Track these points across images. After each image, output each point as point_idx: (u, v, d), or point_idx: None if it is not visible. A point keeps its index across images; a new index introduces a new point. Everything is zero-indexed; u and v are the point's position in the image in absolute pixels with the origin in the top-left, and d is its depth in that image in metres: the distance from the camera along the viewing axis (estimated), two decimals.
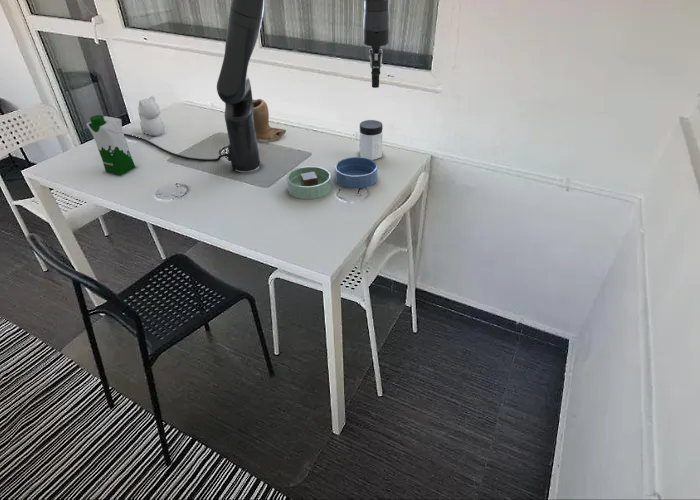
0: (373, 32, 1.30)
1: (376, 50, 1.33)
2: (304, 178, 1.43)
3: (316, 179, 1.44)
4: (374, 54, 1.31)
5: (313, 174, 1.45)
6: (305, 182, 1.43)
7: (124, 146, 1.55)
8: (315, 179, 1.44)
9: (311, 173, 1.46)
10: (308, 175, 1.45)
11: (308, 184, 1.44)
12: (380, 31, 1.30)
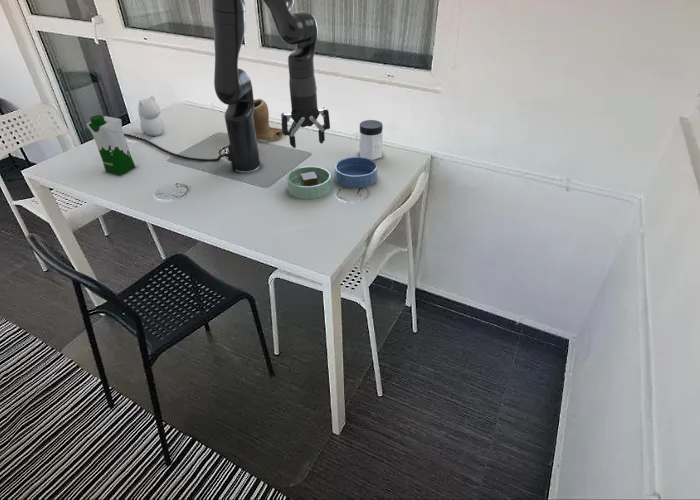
0: (290, 94, 1.29)
1: None
2: (304, 178, 1.43)
3: (316, 179, 1.44)
4: (282, 114, 1.31)
5: (313, 174, 1.45)
6: (305, 182, 1.43)
7: (124, 146, 1.55)
8: (315, 179, 1.44)
9: (311, 173, 1.46)
10: (308, 175, 1.45)
11: (308, 184, 1.44)
12: (292, 96, 1.27)
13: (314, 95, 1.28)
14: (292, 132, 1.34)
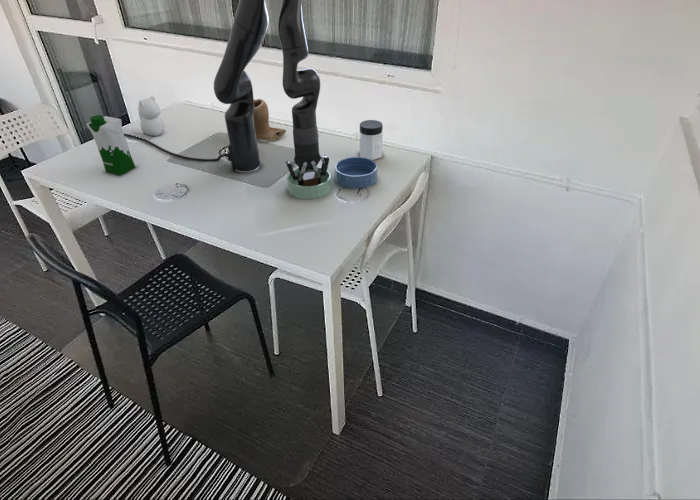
0: None
1: (295, 157, 1.40)
2: (304, 178, 1.43)
3: (316, 179, 1.44)
4: (286, 163, 1.40)
5: (313, 174, 1.45)
6: (305, 182, 1.43)
7: (124, 146, 1.55)
8: (315, 179, 1.44)
9: (311, 173, 1.46)
10: (308, 175, 1.45)
11: (308, 184, 1.44)
12: (295, 143, 1.36)
13: (316, 143, 1.36)
14: (300, 177, 1.43)
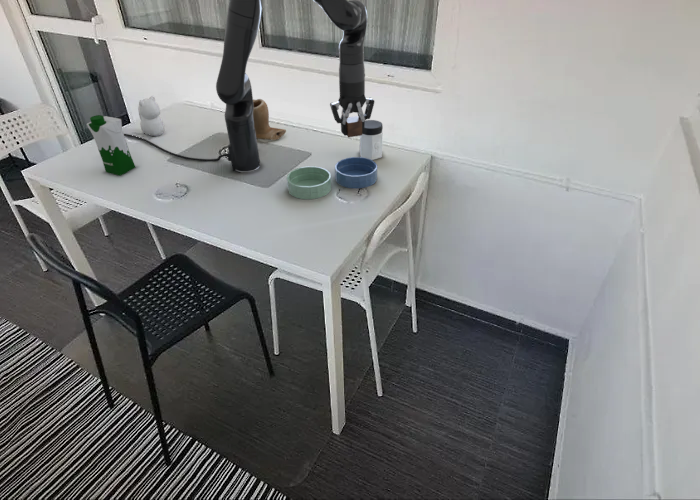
0: (339, 81, 1.32)
1: None
2: (348, 121, 1.38)
3: (360, 123, 1.39)
4: (330, 104, 1.35)
5: (357, 118, 1.40)
6: (349, 125, 1.38)
7: (124, 146, 1.55)
8: (359, 122, 1.39)
9: (354, 117, 1.41)
10: (351, 119, 1.40)
11: (352, 128, 1.39)
12: (341, 82, 1.31)
13: (362, 82, 1.31)
14: (345, 120, 1.38)
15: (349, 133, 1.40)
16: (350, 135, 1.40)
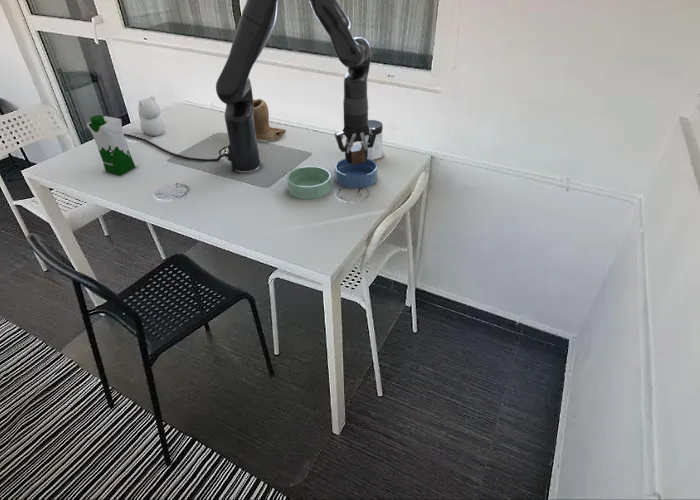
0: None
1: (344, 129, 1.41)
2: (352, 150, 1.45)
3: (364, 151, 1.45)
4: (335, 134, 1.42)
5: (360, 146, 1.47)
6: (353, 154, 1.44)
7: (124, 146, 1.55)
8: (363, 151, 1.45)
9: (358, 145, 1.47)
10: (355, 147, 1.46)
11: (356, 156, 1.45)
12: (346, 114, 1.37)
13: (366, 114, 1.37)
14: (348, 149, 1.44)
15: (353, 161, 1.46)
16: (353, 163, 1.46)
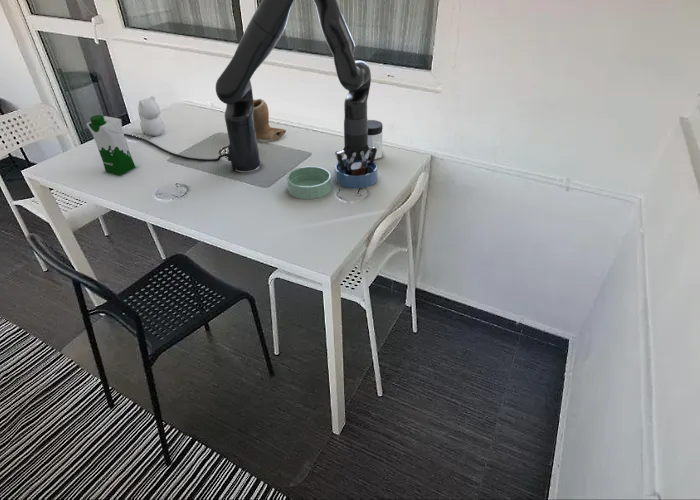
0: (344, 132, 1.43)
1: (345, 148, 1.45)
2: (352, 168, 1.48)
3: (364, 169, 1.49)
4: (336, 153, 1.45)
5: (360, 164, 1.50)
6: (353, 172, 1.48)
7: (124, 146, 1.55)
8: (363, 169, 1.49)
9: (358, 163, 1.51)
10: (355, 165, 1.50)
11: (356, 174, 1.49)
12: (346, 134, 1.41)
13: (366, 134, 1.41)
14: (349, 167, 1.48)
15: None
16: None
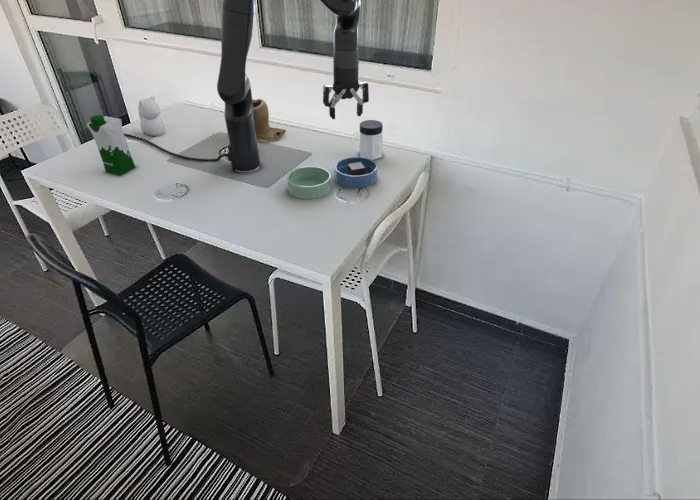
0: (333, 67, 1.35)
1: (334, 84, 1.37)
2: (352, 168, 1.48)
3: (364, 169, 1.49)
4: (324, 86, 1.37)
5: (360, 164, 1.50)
6: (353, 172, 1.48)
7: (124, 146, 1.55)
8: (363, 169, 1.49)
9: (358, 163, 1.51)
10: (355, 165, 1.50)
11: (356, 174, 1.49)
12: (335, 68, 1.33)
13: (356, 68, 1.33)
14: (333, 103, 1.39)
15: None
16: None
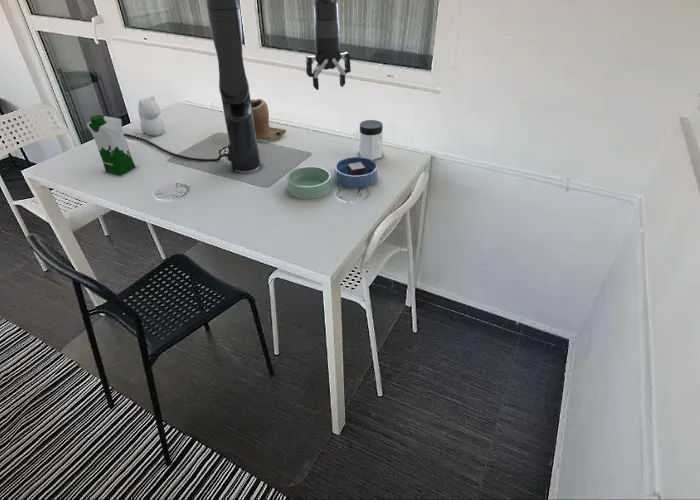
0: (315, 37, 1.40)
1: (316, 55, 1.42)
2: (352, 168, 1.48)
3: (364, 169, 1.49)
4: (307, 56, 1.42)
5: (360, 164, 1.50)
6: (353, 172, 1.48)
7: (124, 146, 1.55)
8: (363, 169, 1.49)
9: (358, 163, 1.51)
10: (355, 165, 1.50)
11: (356, 174, 1.49)
12: (317, 38, 1.38)
13: (337, 38, 1.38)
14: (316, 74, 1.44)
15: None
16: None
